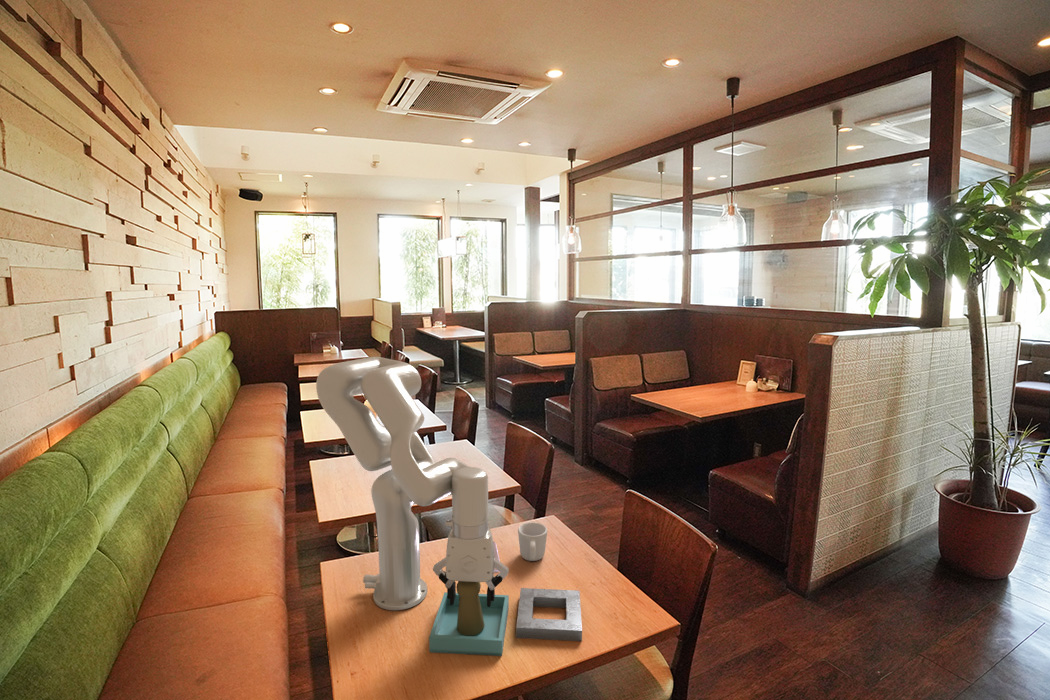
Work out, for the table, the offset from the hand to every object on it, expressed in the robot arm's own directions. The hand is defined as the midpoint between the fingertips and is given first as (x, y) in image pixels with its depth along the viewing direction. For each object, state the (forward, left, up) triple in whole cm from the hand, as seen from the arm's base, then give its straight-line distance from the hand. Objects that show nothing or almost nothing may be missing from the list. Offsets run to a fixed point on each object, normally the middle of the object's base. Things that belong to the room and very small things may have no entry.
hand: (471, 601), depth 116 cm
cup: (+12, +29, -7) cm, 32 cm away
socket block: (+17, +5, -7) cm, 19 cm away
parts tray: (0, 0, -7) cm, 7 cm away
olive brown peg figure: (0, 0, -6) cm, 6 cm away
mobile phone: (-1, +29, -7) cm, 30 cm away
